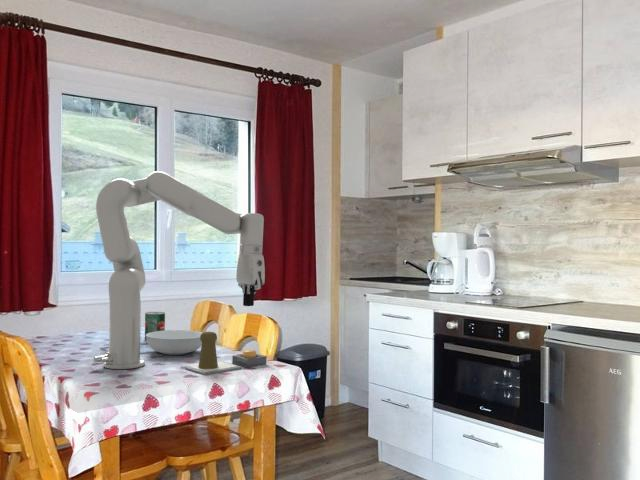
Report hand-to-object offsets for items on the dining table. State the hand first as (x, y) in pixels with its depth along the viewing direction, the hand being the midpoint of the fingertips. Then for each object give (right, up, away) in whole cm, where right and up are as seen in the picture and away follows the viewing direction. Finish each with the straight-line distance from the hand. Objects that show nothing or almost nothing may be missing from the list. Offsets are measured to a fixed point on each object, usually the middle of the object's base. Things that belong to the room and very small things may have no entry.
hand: (248, 305), depth 195 cm
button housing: (0, -19, 0) cm, 19 cm away
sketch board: (-10, -19, -8) cm, 23 cm away
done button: (0, -18, 0) cm, 18 cm away
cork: (-12, -18, -9) cm, 24 cm away
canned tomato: (-44, -19, +45) cm, 66 cm away
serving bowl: (-28, -19, +18) cm, 39 cm away
